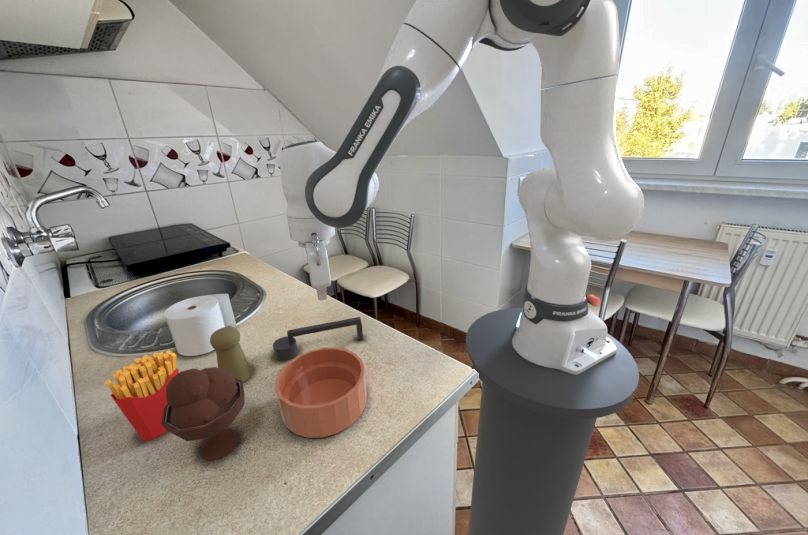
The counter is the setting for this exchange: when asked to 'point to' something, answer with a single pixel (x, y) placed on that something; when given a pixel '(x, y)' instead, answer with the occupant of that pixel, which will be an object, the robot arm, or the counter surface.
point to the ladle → (288, 346)
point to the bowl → (321, 392)
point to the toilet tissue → (198, 322)
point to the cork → (230, 352)
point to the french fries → (144, 392)
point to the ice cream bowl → (204, 409)
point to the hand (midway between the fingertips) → (320, 288)
